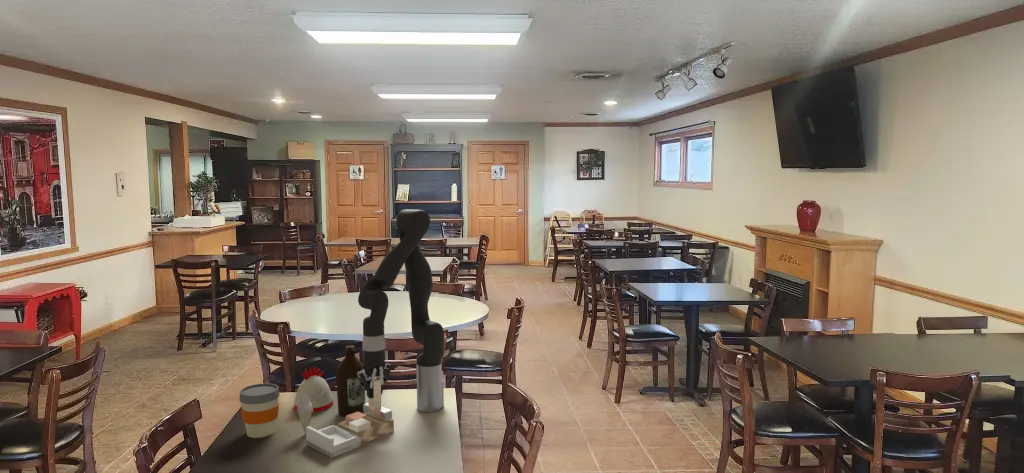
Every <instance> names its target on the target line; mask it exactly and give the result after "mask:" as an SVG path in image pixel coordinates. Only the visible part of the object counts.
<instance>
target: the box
mask: <svg viewBox="0 0 1024 473" xmlns="http://www.w3.org/2000/svg"><path fill="white" fill-rule="evenodd" d="M305 437H306V446H308V447H310V448H312V449H313V450H315V451H318V452H319V453H321V454H323V455H325V456H327V457H329V458H330V459H331V458H334V457H337V456H340V455H342V454H344V453H345V454H346V453H348V452H349V451H352V450H354V449H357V448H360V447H361V446H362V444H361V437H360V436H357V435H355V434H353V433H351V432H349V431H347V430H345V429H343V428H340V427H338V425H334V424H332V425H329V426H327V427H326V426H325V427H324V428H320V429H318V430H317V429H316V428H315V427H312V426H310V425H309V426H308V427H306V436H305Z"/></svg>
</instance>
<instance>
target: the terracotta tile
mask: <svg viewBox="0 0 1024 473" xmlns="http://www.w3.org/2000/svg"><path fill="white" fill-rule="evenodd" d="M360 418H363V419H365V420H367V415H365V413H360V412H355V413H352V414H349V415H346V417H345V420H346V422H348V423H349V422H351V421H354V420H357V419H360Z"/></svg>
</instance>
